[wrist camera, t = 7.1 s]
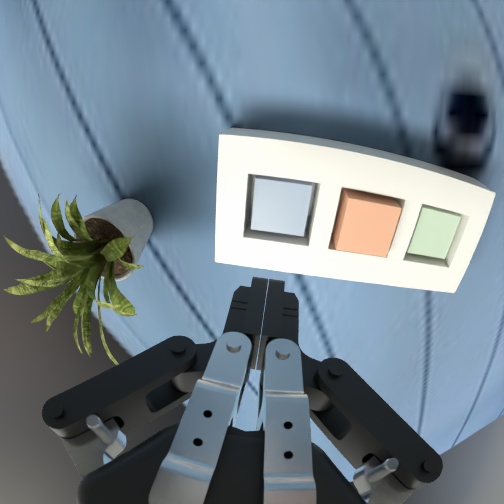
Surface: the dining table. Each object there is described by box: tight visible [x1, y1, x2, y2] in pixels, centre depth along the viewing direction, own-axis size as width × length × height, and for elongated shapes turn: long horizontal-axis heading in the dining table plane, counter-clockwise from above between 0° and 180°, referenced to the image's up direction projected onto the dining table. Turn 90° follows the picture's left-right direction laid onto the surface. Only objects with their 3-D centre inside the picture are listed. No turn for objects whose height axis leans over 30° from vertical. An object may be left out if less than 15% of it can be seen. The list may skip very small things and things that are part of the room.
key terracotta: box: [333, 188, 402, 257], centre depth 22 cm, size 4×4×2 cm
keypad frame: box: [215, 128, 496, 293], centre depth 23 cm, size 24×11×4 cm, turn 85°
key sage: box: [407, 204, 461, 259], centre depth 23 cm, size 4×4×2 cm
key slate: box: [251, 175, 312, 236], centre depth 24 cm, size 4×4×2 cm
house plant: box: [4, 194, 153, 365], centre depth 22 cm, size 14×14×16 cm
